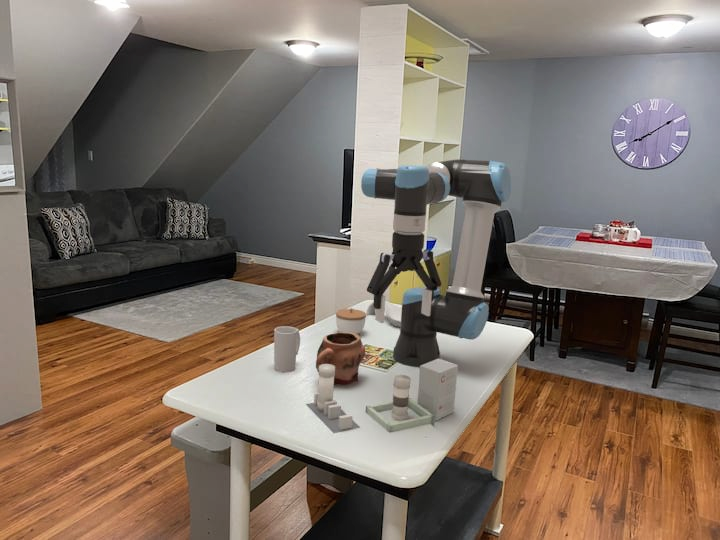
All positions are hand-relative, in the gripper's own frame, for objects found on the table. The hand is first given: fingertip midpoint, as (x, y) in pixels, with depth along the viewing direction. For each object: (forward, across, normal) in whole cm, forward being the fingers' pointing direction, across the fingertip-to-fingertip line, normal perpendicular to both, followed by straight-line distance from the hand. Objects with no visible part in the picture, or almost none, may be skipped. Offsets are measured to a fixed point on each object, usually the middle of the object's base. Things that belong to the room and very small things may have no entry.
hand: (403, 317), depth 138 cm
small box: (+26, +9, -4) cm, 28 cm away
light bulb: (+25, -2, -4) cm, 25 cm away
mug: (+26, -13, +39) cm, 48 cm away
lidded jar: (+27, +19, +59) cm, 67 cm away
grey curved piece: (+28, +42, +66) cm, 83 cm away
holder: (+25, -17, +3) cm, 31 cm away
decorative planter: (+26, -6, +22) cm, 34 cm away
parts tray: (+25, -2, -4) cm, 26 cm away
